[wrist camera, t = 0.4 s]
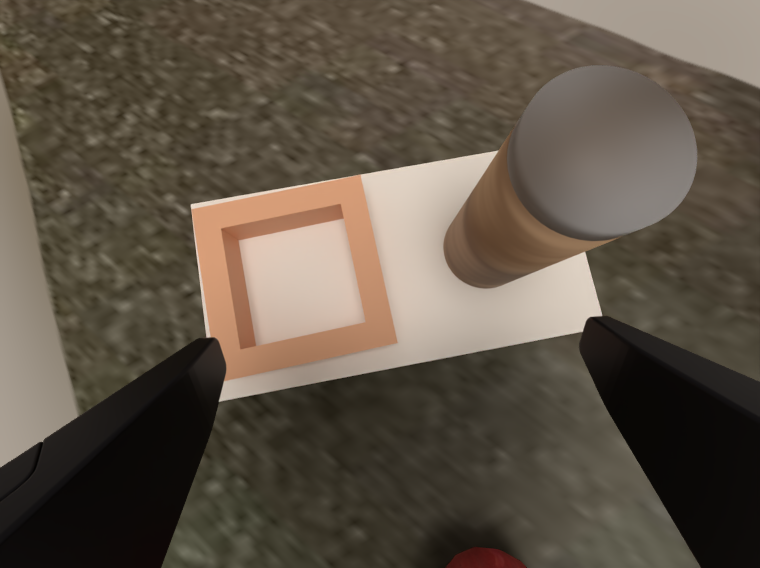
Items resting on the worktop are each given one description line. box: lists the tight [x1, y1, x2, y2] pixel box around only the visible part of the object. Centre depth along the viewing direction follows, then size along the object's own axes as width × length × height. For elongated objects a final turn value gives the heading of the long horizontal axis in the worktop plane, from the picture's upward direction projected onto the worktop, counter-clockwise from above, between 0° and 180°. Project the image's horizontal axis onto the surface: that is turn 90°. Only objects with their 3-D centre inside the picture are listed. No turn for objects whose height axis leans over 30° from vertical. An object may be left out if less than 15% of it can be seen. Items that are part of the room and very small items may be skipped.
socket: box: [191, 175, 398, 381], centre depth 20 cm, size 9×9×2 cm
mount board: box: [191, 151, 602, 402], centre depth 22 cm, size 23×12×1 cm, turn 101°
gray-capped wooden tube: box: [443, 65, 697, 289], centre depth 16 cm, size 5×5×12 cm
